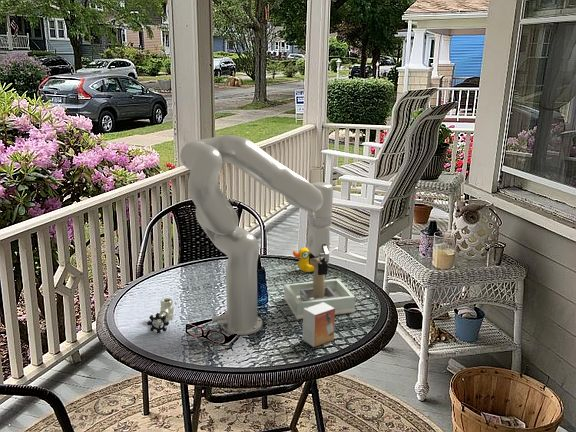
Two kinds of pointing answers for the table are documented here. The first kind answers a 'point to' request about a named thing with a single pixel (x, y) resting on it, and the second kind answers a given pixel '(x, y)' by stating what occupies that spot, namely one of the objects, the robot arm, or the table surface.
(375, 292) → the table surface
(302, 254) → the duckling
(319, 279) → the handle
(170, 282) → the table surface
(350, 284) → the table surface
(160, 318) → the valve
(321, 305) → the small box
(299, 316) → the housing
